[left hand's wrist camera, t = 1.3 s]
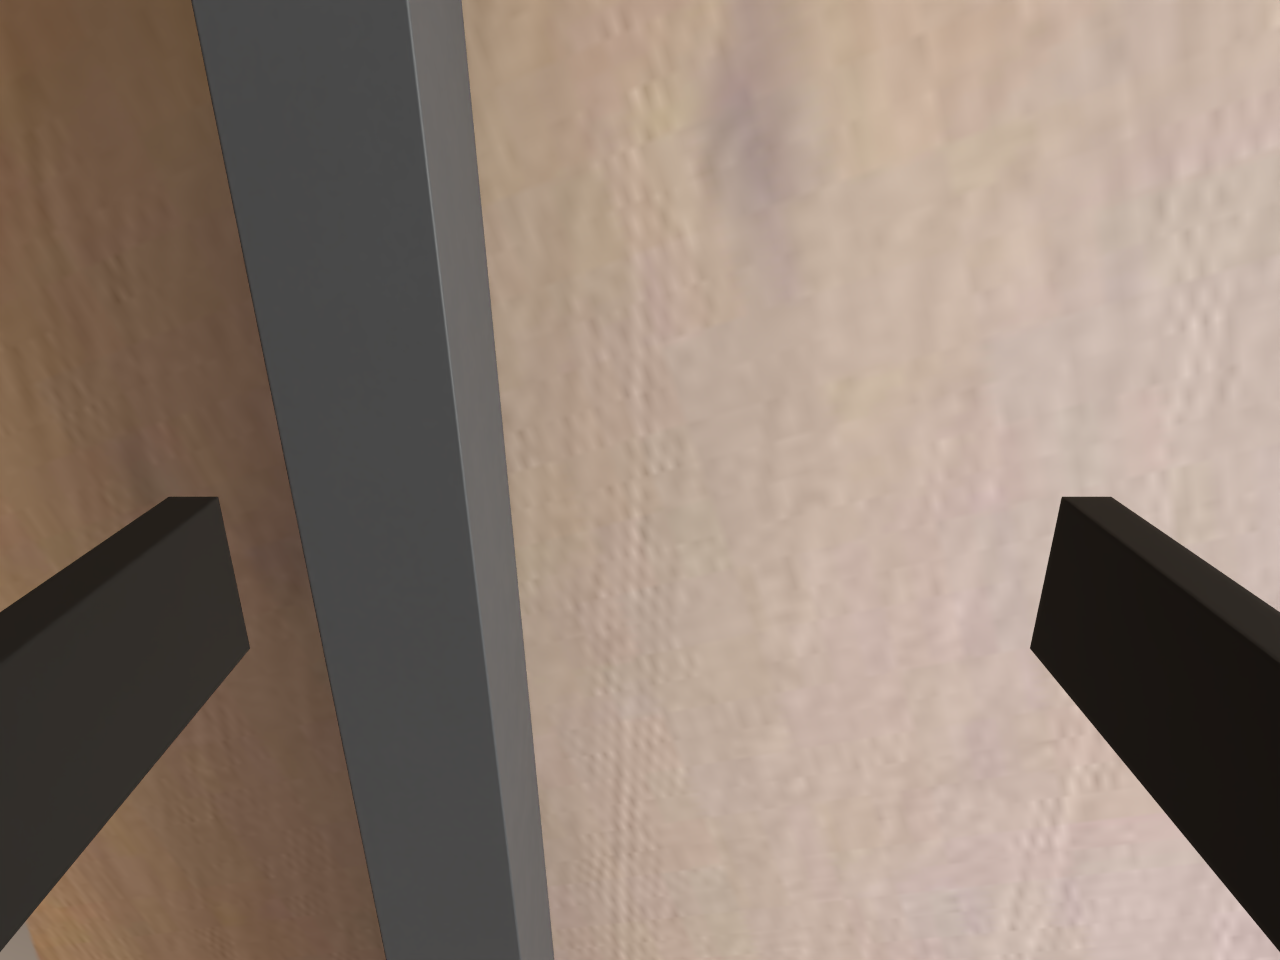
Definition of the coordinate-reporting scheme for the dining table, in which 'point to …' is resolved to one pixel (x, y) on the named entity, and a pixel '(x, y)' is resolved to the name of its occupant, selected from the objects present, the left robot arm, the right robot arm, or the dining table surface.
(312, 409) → the beam
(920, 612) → the dining table surface
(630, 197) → the dining table surface
